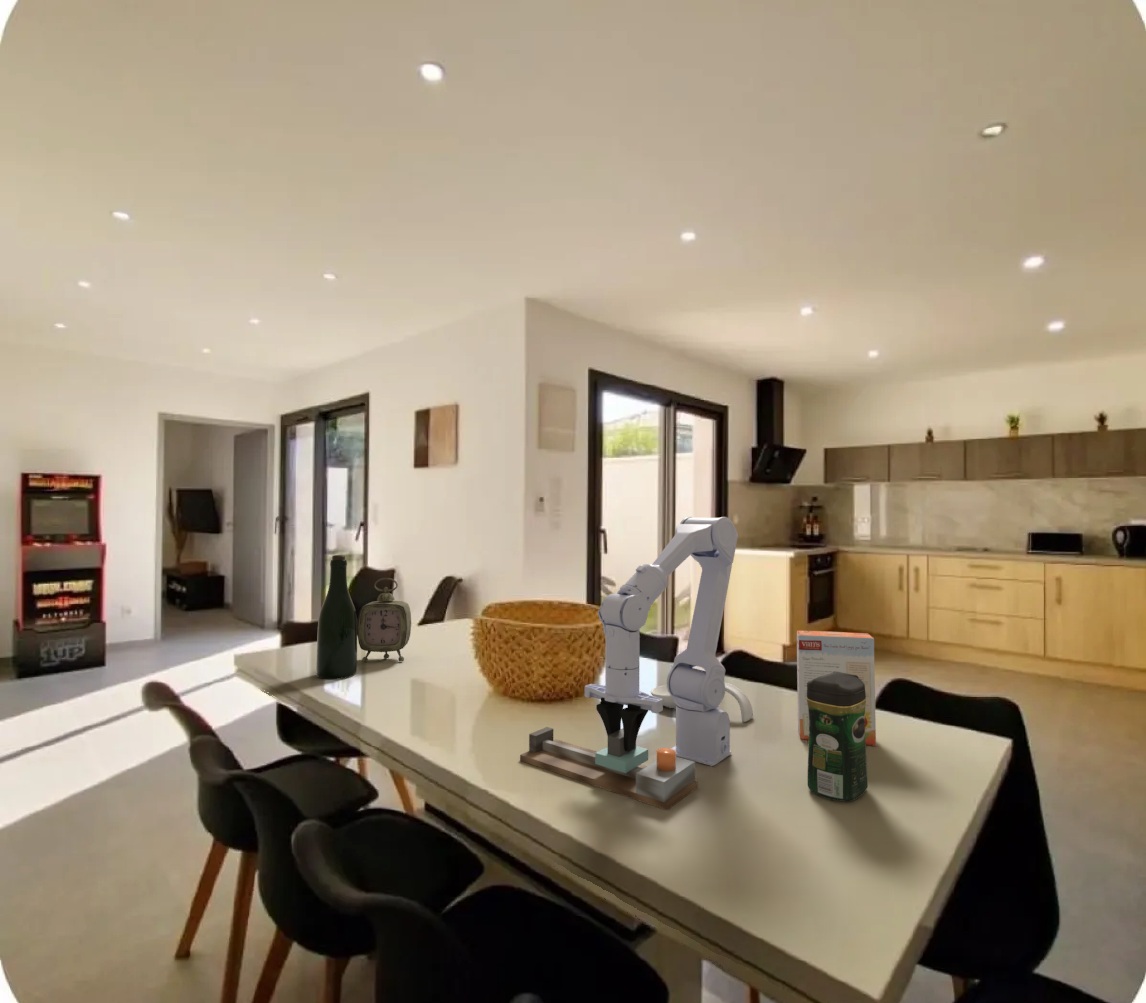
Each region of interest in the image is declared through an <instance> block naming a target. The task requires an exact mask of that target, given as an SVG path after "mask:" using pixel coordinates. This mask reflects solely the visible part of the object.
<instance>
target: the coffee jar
mask: <svg viewBox="0 0 1146 1003" xmlns="http://www.w3.org/2000/svg"><path fill="white" fill-rule="evenodd" d="M807 704H808V711H809V740H808V749H807V750H808V752H807V753H808V754H807V755H808V756H807V787H808V789H809V790H810V791H811V792H813V793H815V794H816V795H818V796H819V797H822V798H824V799H826V800H829V801H840V802H846V803H847V802H852V801H854V800H857V799H858V798H860V797H861V796H862V795H863V794H864V793H865V792H866V791H867V789H868V785H869V784H868V768H867V767H868V766H867V749H866V748H867V747H866V746H867V745H866V743H865V705H866V693H865V685H864V683H863V681H862V680H861V679H860V678H859V677H858V676H857V675H852V674H847V673H842V672H836V671H834V672H833V673H830V674H827V675H823V676H820V677H818V678H815V679H813V680H810V681H808V682H807Z"/></svg>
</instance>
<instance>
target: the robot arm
mask: <svg viewBox="0 0 1146 1003" xmlns="http://www.w3.org/2000/svg"><path fill="white" fill-rule="evenodd" d="M738 537H739V534H738V531H737V529H736V527H735V525H734V522H733V521H732V520H731V519H730V518H729V517H727V516H721V517H693V516H687V517H684V518H682V520H681V522H680V523H679V524H677V525H676V526H675V529H674V536H673V537H672V539H670V541H668V544H666V546H665V547H664V548H663V550H662V551H661V553H660V554H659V555H658V556H657V558H656V559H655V560H654V561H653V562H652V564H651V563H645V564H643V565H638V566H637V568H636V569H635V573H634V574H633V575H632V576H631V577H630V578H629V579H628V580H627V581H626V582H625V583H624V584H622V585H621V586H620V588H619V590H618V591H617V593H615V592H614V593H610V594H608V595H607V596H606V597H605V598H604V599H603V600H602V602H601V604H600V608H599V609H597V615H598V619H599V621H600V623H601V624H602V627H603V628H602V630H603V632H602V633H603V635H604V636H605V654H604V655H605V672H604V673H605V674H604V676H605V681H604V683H605V685H604V684H594V683H590V684H586V685H585V686H584V697H585V698H593V699H598V700H600V701H599V703H598V704H596V705H595V706H596V711H597V713H598V715H599V716H600V718H601V720H602V723H603V725H604V728H605V732H606V736H607V737H608V735H610V734H612V733H614V732H616V731H618V730H620V729H622V728H623V730H624V749H625V751H627V752H629V751H631V750H633V749H635V744H636V745H637V738H638V734H639V733H640V732H639V731H640V728H641V726H642V723H643V721H644V719H645V717H646V716H647V714H648V712H649V711H650V713H652V714H656V715H657V714H658V713H660V712H663V709H664V705H663V699H661V698H657V697H654V696H652V694H648V693H646V692H643V691H642V690H640V638H641V636H640V634H641V633H640V629H641V628H642V627H644V626H645V625H646V623H647V621H648V620H647V619H648V616H649V615H648V614H649V612H650V611H651V607H652V605H653V604H654V603H655V601H657V599H658V598H660V595H662V593H664V592H665V590H667V588H668V586H669V585H668V584H669V583H668V577H669V576H670V575H671V574H672V573H673V572H674V571H675V570H676V569H677V568H678V567H679V566H681V564H682V563H684V562H685V561H686V560H687V559H688V558H689V557H690V556H691V558H693V559H694V561H695V562H698V564H699V565H700V567H701V572H700V573H701V574H700V578H699V584H698V590H697V594H696V599H695V604H694V609H693V615H692V620H691V625H690V629H689V634H688V640H687V646H686V649H685V650H683V651H682V652H680V653H679V654H677V655H676V656H675V657H674V660H673V664H672V666H671V669H670V670H669V672H668V675H667V676H666V685H667V689H668V692H669V693H670V695H671V696H673V702H674V703H676V709H675V745H674V746H673V747H671V748H670V749H673V750H675V752H676V757H679V758H683V759H687V760H690V761H694V762H695V763H699V764H704V765H707V766H712V767H714V766H716V765H718V764H719V763H720V762H721V761H724V760H725V759H726V758H728V756H730V755H731V754H732V750H731V748H730V747H731V745H730V744H731V734H730V732H731V731H730V730H731V725H730V724H731V723H730V722H731V721H730V715H729V714H728V713H729V712H727V711H725V710H722V709H720V708H719V706H720V705H721V703H722V701H723V700H724V697H725V694H726V691H725V682H726V681H725V674H726V668H725V666H724V665H723V664H722V663H721V662H720V660H719V659H718V658H717V656H716V654H717V648H718V642H719V637H720V632H721V627H722V620H723V615H724V610H725V604H726V599H727V594H728V588H729V584H730V579H731V574H732V568H733V563H734V558H735V554H736V548H737V543H738ZM695 667H699V668H702V669H704V670H702V669H699V668H698V669H697V668H695ZM624 706H627V707H625V708H624ZM621 722H622V723H621Z"/></svg>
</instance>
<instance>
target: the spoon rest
mask: <svg viewBox="0 0 1146 1003" xmlns="http://www.w3.org/2000/svg"><path fill="white" fill-rule="evenodd" d="M724 682H725V693H726V692H727V693H728V694H730V695H731V696H732V697H733V698H734V699H735V700H736V702H737V703H738V705H739V710H740V714H741V721H742V722H743V723H746V722H748V721H750V720H751V719H752V718H753V717H754V711H753V710H754V709H753V706H752V704H751V701H750V699H749V698H748V696H747V695H746V694H745V693H744V692H743V691H742V690H741V689H740V688H738V687H736V685H734V684H731V683H728V682H726V681H724ZM650 695H651V696H654V697H657V698H661V699H663V707H666V708H668V707H669V708H668V709H671V708H674V709H673V710H676V703H674V702H673V696H671V695H670V693H669V692H668V689H667V684H662V685H659V686H656V687H654V688H652V689H651V691H650Z"/></svg>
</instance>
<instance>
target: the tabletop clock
mask: <svg viewBox="0 0 1146 1003" xmlns="http://www.w3.org/2000/svg"><path fill="white" fill-rule="evenodd" d="M380 581H391V582H393V583H395V587H394V588H392V589H391V588H390V589H388V587H387V586H385V587H384V588H383V589H381V588H379V587H377V583H379V582H380ZM398 584H399V583H398V582H397V581H396V580H395V578H394V579H393V578H390V577H382V578H379V579H377V580H376V581H375V582H374V585H373V586H374V589H375V590H376V591H378V592H382V593H380V594H379V595H378V597H377V598H376V600H375V601H371V602H368V603H366V604H365V605H363V606H361V608H360V610H359V612H358V616H357V617H358V618H357V643H358V645H359V647H360V649H361V650H363V651H366V652H367V653H366V655H365V656H363V657H362V658H361V661H362V662H363V663H367V662H368V657H369V655H370V654H371V653H372V652H374V653H384V655H383V658H384V659H385V658H388V659H389V657H390V655H389V654H390V652H396V653H397V655H398V662H400V661H402V662H404V660H405V658H404V656H402V655H401V650H402V649H404V648H405V647H406V645H408V643H409V641H410V638H411V633H412V632H411V631H412V614H411V608H410V605H409V603H408V602H405V601H403V600H395V596H394V595H393V594H392V593H390V592H393V591H395V590H396V589H397V588H398V587H399V586H398ZM366 661H367V662H366Z"/></svg>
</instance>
